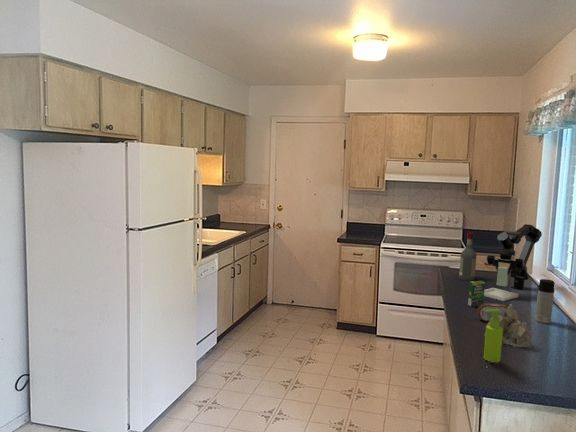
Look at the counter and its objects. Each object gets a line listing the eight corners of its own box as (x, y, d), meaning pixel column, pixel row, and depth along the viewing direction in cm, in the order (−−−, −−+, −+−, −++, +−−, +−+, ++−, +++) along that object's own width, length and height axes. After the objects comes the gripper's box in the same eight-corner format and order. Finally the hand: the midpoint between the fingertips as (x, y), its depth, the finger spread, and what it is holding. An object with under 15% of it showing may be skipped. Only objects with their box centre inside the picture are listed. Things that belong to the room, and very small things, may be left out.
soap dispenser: (477, 357, 185) (482, 307, 183) (495, 357, 186) (499, 307, 184) (485, 364, 180) (489, 312, 177) (503, 364, 180) (507, 312, 178)
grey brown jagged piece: (480, 333, 212) (485, 300, 210) (517, 335, 213) (522, 303, 210) (494, 349, 197) (500, 314, 194) (534, 352, 197) (540, 317, 194)
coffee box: (470, 307, 251) (472, 282, 249) (467, 305, 254) (468, 281, 252) (483, 306, 253) (485, 281, 252) (479, 304, 256) (481, 280, 255)
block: (497, 283, 275) (499, 266, 274) (507, 284, 273) (508, 267, 272) (496, 285, 271) (497, 267, 270) (506, 286, 269) (507, 268, 267)
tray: (492, 290, 285) (493, 287, 284) (518, 297, 273) (518, 293, 272) (478, 294, 276) (478, 291, 275) (503, 301, 263) (504, 297, 263)
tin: (508, 321, 230) (510, 304, 229) (511, 323, 227) (512, 306, 226) (476, 319, 232) (477, 302, 231) (478, 321, 229) (479, 304, 228)
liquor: (474, 278, 314) (478, 232, 311) (473, 281, 306) (477, 234, 303) (459, 276, 318) (463, 231, 315) (458, 279, 310) (462, 233, 306)
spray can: (549, 320, 234) (553, 279, 232) (552, 324, 228) (556, 283, 225) (534, 318, 236) (538, 278, 234) (536, 322, 230) (540, 281, 227)
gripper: (488, 241, 277) (483, 263, 269) (524, 245, 268) (520, 268, 260) (490, 252, 285) (485, 274, 277) (525, 256, 275) (521, 279, 267)
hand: (502, 273), depth 270 cm, fingers closed on block, 5 cm apart
